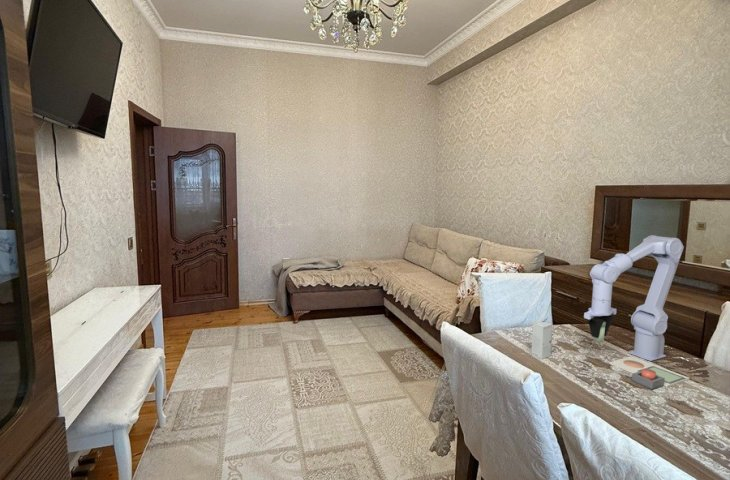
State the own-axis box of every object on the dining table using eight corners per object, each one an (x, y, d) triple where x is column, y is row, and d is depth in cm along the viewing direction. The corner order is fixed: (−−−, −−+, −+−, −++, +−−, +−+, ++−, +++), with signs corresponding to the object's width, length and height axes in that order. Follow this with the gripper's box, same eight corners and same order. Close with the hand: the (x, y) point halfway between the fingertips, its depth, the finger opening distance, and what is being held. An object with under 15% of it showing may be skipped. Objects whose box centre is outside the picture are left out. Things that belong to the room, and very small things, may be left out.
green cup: (596, 337, 139) (598, 319, 138) (606, 341, 136) (608, 322, 135) (590, 339, 137) (591, 320, 137) (599, 343, 134) (601, 323, 133)
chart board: (630, 357, 139) (630, 355, 139) (689, 379, 123) (689, 377, 123) (609, 363, 134) (609, 361, 134) (667, 387, 118) (667, 385, 118)
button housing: (643, 377, 124) (643, 370, 124) (663, 385, 119) (664, 378, 119) (631, 381, 122) (632, 373, 122) (652, 389, 116) (653, 382, 116)
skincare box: (541, 359, 138) (543, 327, 136) (530, 355, 141) (532, 323, 140) (551, 355, 141) (553, 323, 140) (540, 351, 145) (542, 320, 143)
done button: (645, 375, 123) (646, 367, 122) (657, 380, 119) (658, 372, 119) (638, 377, 121) (639, 370, 121) (650, 382, 118) (651, 374, 118)
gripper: (603, 293, 141) (601, 329, 143) (577, 298, 135) (574, 335, 137) (623, 298, 135) (620, 335, 137) (596, 303, 129) (593, 342, 131)
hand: (598, 336), depth 136 cm, fingers closed on green cup, 3 cm apart
